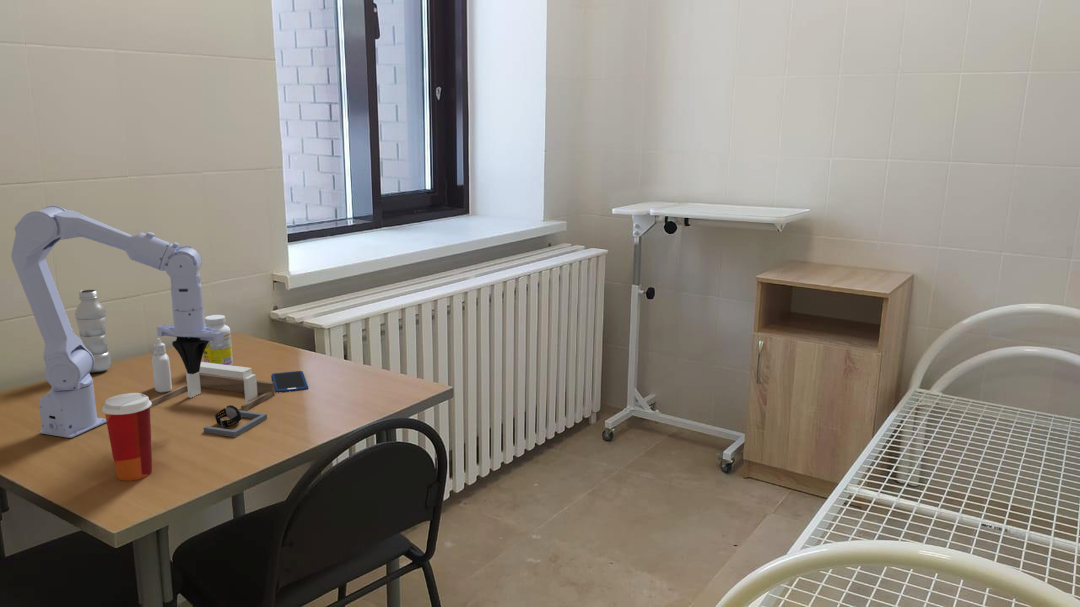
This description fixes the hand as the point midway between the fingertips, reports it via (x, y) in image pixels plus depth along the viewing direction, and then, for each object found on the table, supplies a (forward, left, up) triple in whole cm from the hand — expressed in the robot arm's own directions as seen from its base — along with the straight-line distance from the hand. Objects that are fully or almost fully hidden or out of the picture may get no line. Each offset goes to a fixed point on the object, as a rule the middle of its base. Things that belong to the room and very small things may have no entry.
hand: (193, 372), depth 168 cm
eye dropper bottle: (+13, +20, -10) cm, 26 cm away
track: (+8, +4, -10) cm, 13 cm away
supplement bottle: (+31, +19, -10) cm, 38 cm away
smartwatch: (0, -5, -9) cm, 10 cm away
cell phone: (+27, -4, -11) cm, 29 cm away
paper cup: (-25, -7, -10) cm, 28 cm away
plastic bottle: (+18, +44, -10) cm, 49 cm away
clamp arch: (+12, +3, -10) cm, 16 cm away
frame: (0, -9, -10) cm, 14 cm away
